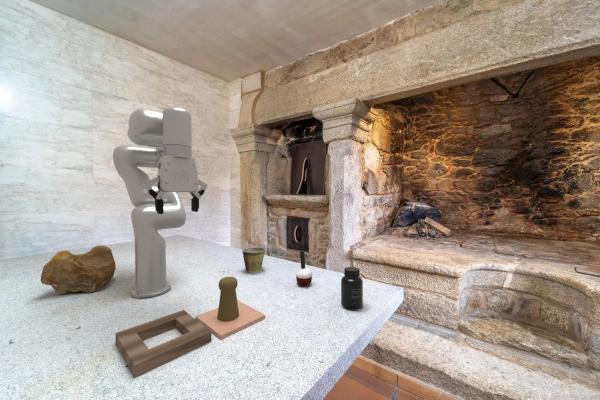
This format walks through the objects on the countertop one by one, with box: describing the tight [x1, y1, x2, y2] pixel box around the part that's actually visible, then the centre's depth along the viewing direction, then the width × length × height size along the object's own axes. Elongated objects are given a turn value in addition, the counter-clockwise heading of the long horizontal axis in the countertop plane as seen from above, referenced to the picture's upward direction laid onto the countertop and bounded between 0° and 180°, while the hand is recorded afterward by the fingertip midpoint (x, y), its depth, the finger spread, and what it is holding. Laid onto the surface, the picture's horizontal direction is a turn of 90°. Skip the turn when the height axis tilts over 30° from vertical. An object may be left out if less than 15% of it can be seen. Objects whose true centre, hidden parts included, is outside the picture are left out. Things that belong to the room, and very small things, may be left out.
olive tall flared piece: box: [217, 276, 239, 322], centre depth 71 cm, size 6×6×11 cm
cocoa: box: [295, 250, 313, 288], centre depth 97 cm, size 10×6×12 cm, turn 168°
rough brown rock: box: [40, 245, 117, 295], centre depth 93 cm, size 23×17×15 cm
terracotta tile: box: [195, 299, 266, 340], centre depth 71 cm, size 14×14×1 cm
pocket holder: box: [115, 309, 212, 378], centre depth 60 cm, size 16×16×2 cm
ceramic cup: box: [242, 246, 266, 275], centre depth 114 cm, size 13×10×10 cm
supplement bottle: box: [340, 266, 364, 311], centre depth 80 cm, size 7×7×12 cm
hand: (178, 212), depth 72 cm, fingers open, 9 cm apart
